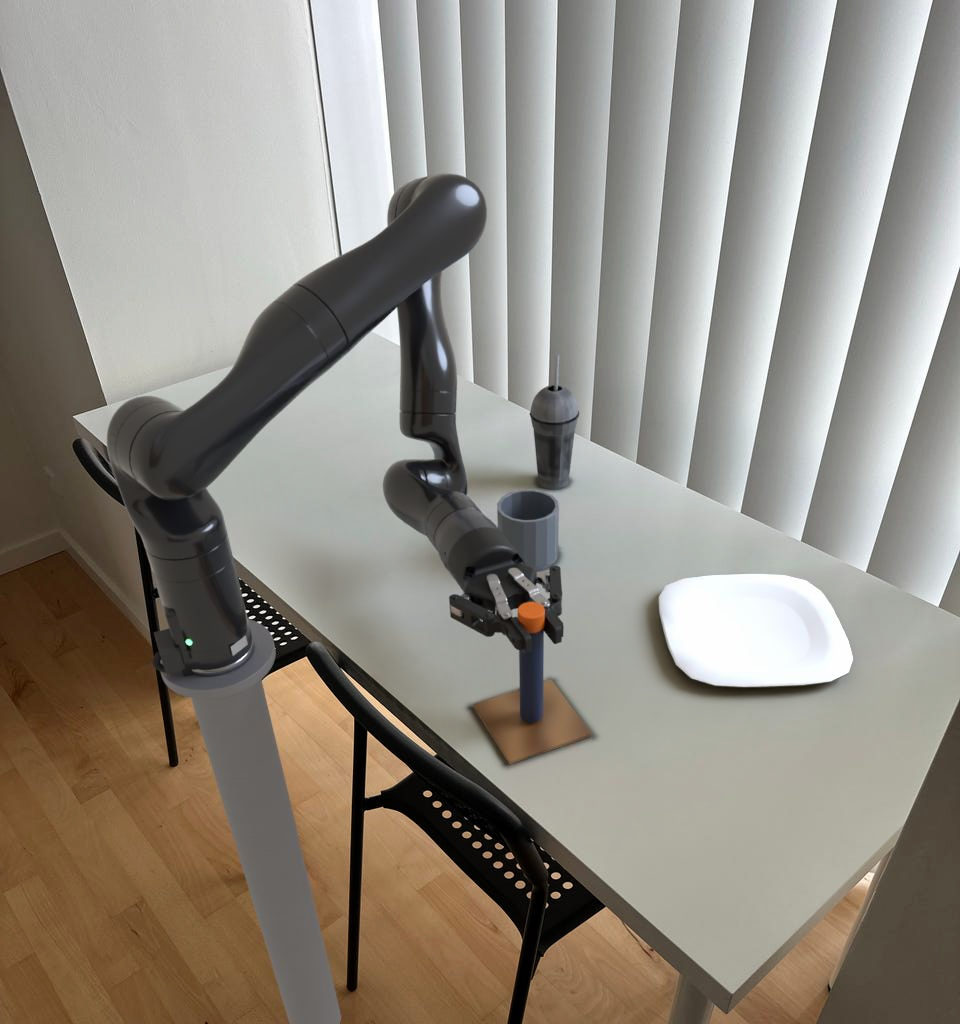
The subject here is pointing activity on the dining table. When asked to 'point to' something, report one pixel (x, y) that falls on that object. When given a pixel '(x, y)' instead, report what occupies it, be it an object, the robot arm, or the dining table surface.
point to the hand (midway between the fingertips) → (543, 641)
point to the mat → (531, 724)
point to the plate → (753, 631)
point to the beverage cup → (554, 432)
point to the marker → (532, 662)
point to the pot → (531, 525)
